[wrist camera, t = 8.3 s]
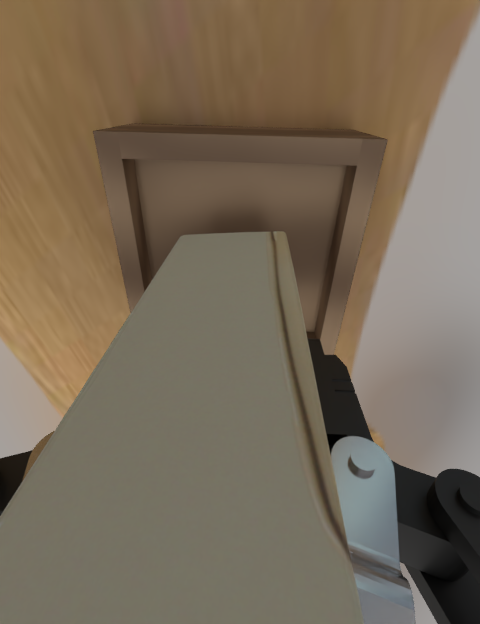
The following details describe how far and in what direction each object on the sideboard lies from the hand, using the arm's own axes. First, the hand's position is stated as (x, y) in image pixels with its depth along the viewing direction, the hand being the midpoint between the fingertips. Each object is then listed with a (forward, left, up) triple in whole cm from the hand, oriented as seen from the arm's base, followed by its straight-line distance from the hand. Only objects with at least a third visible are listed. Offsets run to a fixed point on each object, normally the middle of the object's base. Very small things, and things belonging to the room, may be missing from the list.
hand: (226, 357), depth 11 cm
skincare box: (0, 0, -4) cm, 4 cm away
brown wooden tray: (0, 0, -12) cm, 12 cm away
